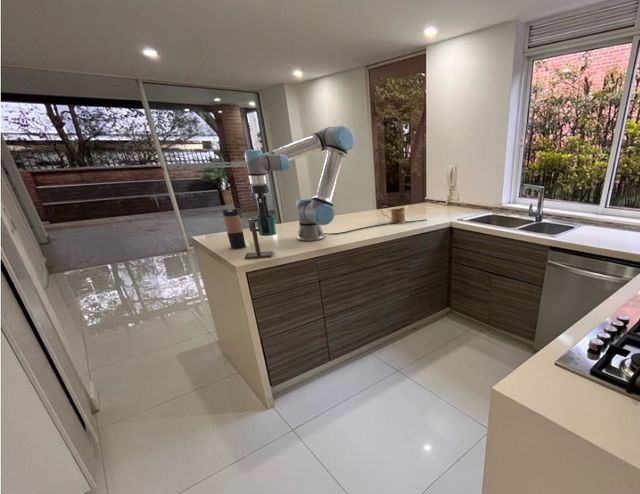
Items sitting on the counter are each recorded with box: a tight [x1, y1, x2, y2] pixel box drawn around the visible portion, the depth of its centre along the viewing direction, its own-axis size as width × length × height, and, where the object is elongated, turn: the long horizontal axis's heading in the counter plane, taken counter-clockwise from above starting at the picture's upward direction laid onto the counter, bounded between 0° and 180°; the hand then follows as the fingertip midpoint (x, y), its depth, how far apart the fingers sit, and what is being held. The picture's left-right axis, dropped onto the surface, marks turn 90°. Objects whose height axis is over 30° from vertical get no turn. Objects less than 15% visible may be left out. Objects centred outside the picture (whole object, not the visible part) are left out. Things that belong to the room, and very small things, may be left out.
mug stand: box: [244, 221, 274, 260], centre depth 171 cm, size 12×14×18 cm
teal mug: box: [247, 214, 277, 237], centre depth 171 cm, size 12×8×9 cm, turn 107°
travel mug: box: [222, 208, 246, 250], centre depth 183 cm, size 8×8×20 cm
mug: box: [380, 205, 407, 225], centre depth 246 cm, size 12×18×12 cm, turn 96°
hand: (267, 231), depth 173 cm, fingers closed on teal mug, 8 cm apart
